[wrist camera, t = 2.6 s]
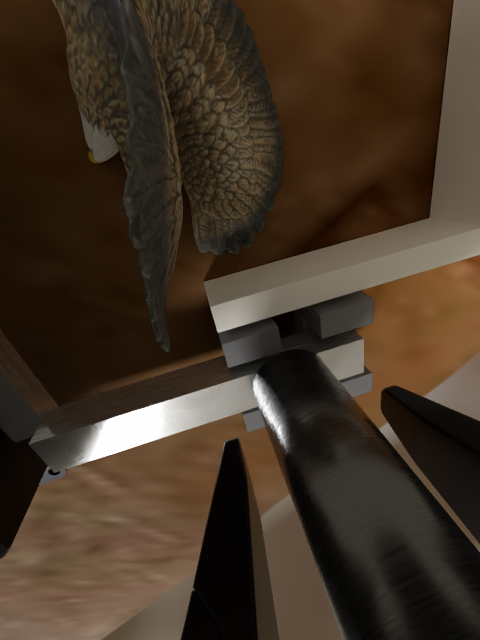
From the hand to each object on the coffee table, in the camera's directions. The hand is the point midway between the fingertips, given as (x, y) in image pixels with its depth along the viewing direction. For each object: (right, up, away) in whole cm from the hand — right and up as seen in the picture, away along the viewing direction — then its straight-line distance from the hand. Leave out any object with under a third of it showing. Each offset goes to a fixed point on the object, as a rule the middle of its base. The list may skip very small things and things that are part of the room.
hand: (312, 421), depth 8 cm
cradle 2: (+1, +3, +5) cm, 6 cm away
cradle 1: (-2, +2, +4) cm, 5 cm away
